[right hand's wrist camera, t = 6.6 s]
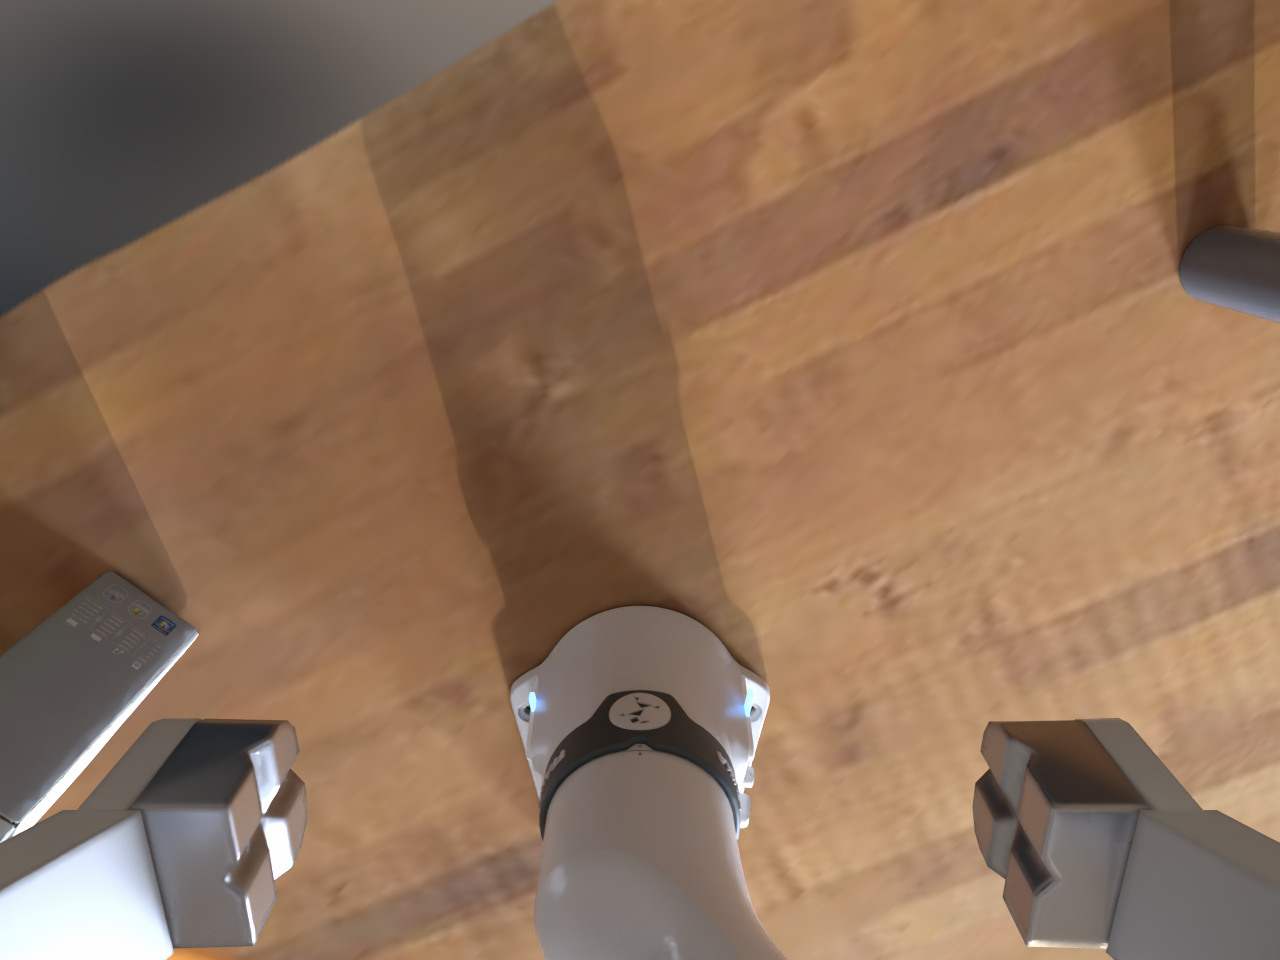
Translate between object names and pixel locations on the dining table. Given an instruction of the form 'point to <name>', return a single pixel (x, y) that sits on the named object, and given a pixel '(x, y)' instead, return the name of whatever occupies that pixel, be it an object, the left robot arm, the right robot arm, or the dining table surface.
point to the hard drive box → (77, 690)
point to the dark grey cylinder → (1235, 270)
